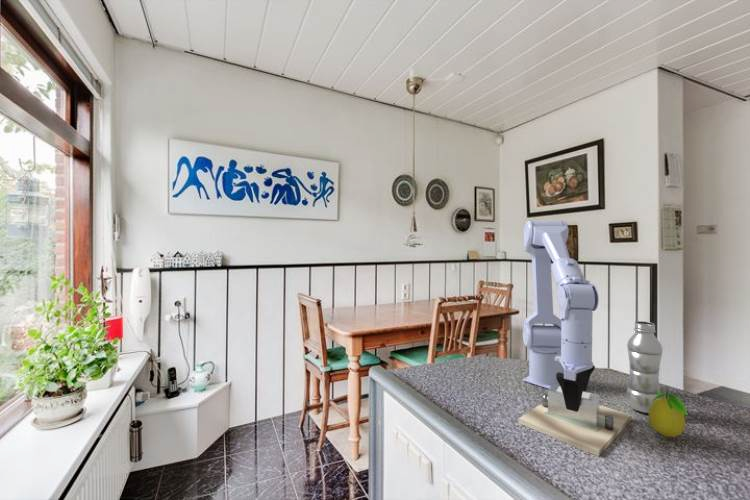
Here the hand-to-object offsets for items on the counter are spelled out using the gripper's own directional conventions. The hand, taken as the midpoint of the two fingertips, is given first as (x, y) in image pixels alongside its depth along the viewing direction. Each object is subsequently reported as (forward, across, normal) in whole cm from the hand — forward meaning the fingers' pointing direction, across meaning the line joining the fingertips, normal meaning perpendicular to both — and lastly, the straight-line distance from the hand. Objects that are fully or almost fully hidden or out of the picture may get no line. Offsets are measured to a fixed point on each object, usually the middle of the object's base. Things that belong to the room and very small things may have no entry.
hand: (575, 403), depth 74 cm
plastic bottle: (+4, -15, +11) cm, 19 cm away
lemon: (+4, -4, +15) cm, 16 cm away
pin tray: (+4, 0, 0) cm, 4 cm away
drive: (+3, 0, 0) cm, 3 cm away
